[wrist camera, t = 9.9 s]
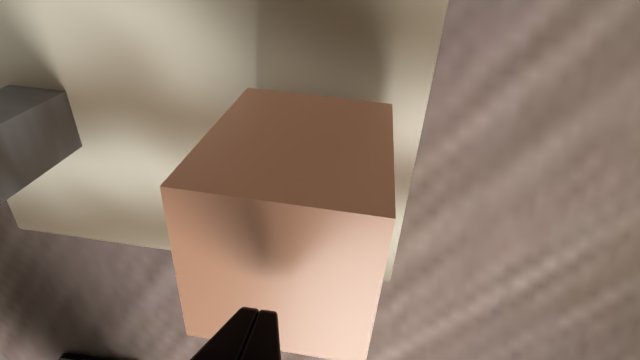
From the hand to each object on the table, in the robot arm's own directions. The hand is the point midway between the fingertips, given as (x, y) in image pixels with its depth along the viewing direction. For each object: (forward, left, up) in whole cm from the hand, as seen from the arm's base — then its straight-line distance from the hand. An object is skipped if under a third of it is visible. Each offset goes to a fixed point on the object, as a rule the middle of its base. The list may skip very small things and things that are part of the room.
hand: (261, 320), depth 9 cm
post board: (0, +6, -10) cm, 11 cm away
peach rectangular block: (0, 0, -8) cm, 8 cm away
